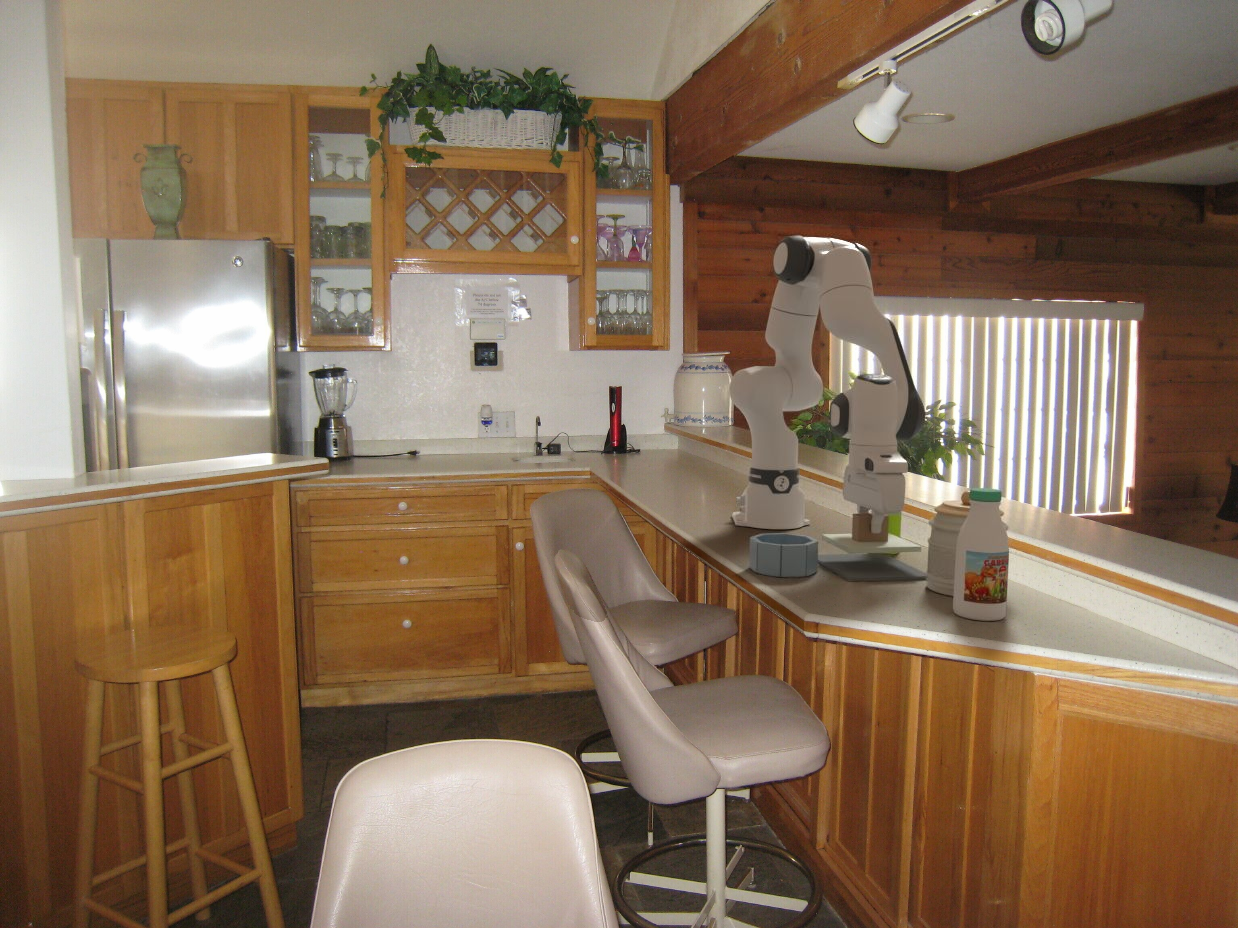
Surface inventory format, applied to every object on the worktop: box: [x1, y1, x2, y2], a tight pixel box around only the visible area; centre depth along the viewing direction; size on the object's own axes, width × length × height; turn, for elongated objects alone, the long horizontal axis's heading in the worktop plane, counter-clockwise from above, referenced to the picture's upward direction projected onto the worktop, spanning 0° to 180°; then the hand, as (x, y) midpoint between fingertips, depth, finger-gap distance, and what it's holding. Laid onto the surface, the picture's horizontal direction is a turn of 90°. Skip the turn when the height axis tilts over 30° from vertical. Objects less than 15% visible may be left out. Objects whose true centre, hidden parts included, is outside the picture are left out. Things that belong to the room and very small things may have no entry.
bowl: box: [748, 532, 819, 578], centre depth 166 cm, size 12×12×6 cm
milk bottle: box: [952, 487, 1010, 622], centre depth 135 cm, size 8×8×20 cm
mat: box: [818, 553, 926, 582], centre depth 168 cm, size 20×16×1 cm
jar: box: [925, 490, 1009, 597], centre depth 151 cm, size 13×13×18 cm
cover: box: [821, 512, 922, 554], centre depth 168 cm, size 14×14×6 cm
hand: (870, 530), depth 168 cm, fingers closed on cover, 3 cm apart
